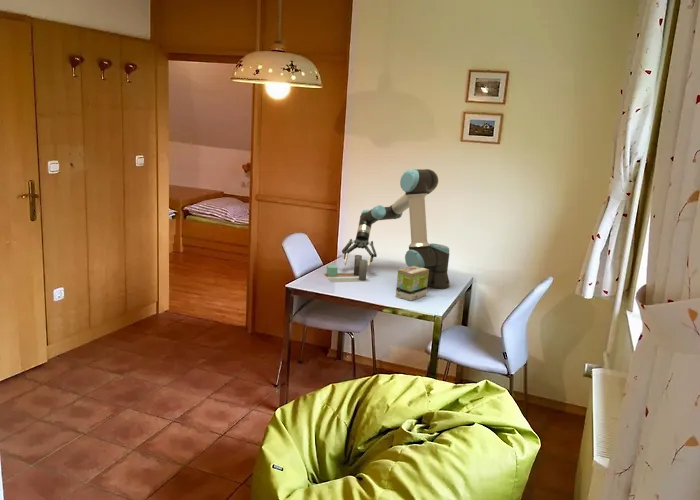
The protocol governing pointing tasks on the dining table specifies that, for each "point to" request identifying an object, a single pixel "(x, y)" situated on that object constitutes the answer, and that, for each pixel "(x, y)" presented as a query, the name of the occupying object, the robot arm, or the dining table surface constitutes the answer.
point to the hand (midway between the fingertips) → (356, 265)
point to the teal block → (332, 270)
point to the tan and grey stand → (356, 269)
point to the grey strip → (361, 278)
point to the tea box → (412, 282)
